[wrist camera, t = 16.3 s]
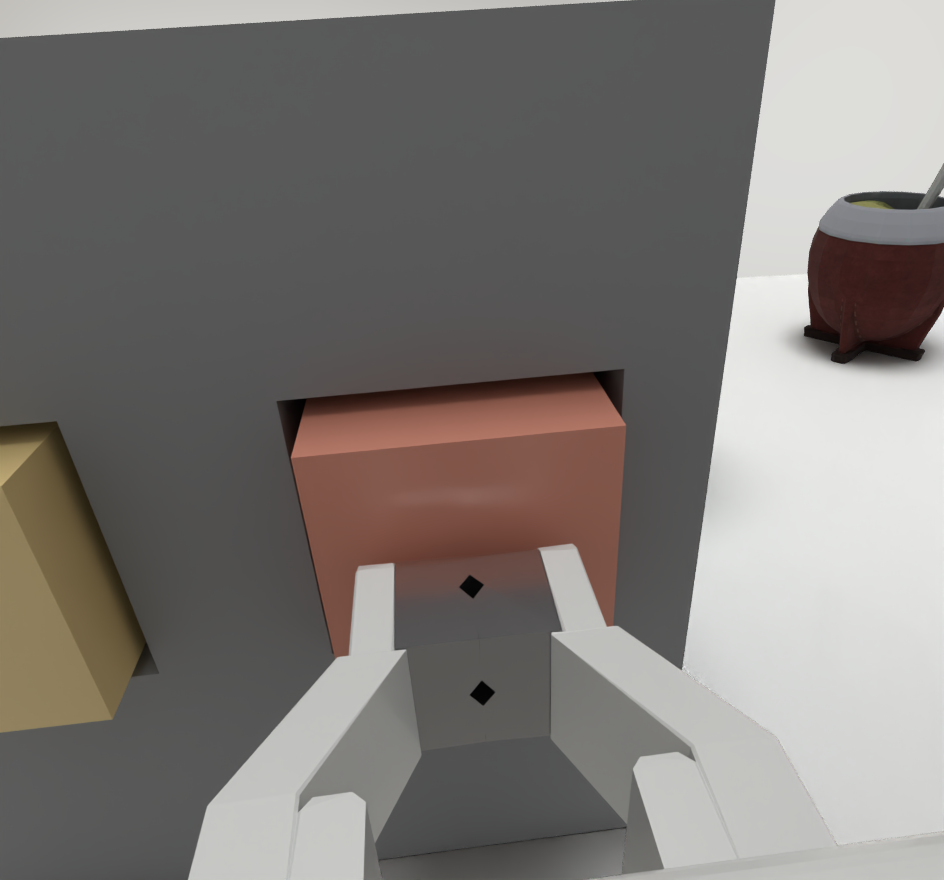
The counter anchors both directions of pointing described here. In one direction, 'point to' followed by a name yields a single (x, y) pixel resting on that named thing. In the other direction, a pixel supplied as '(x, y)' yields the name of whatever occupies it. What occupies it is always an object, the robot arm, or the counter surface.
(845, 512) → the counter surface
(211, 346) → the console
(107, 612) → the button ochre
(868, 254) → the mate gourd
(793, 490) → the counter surface
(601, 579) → the button brick
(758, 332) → the counter surface
